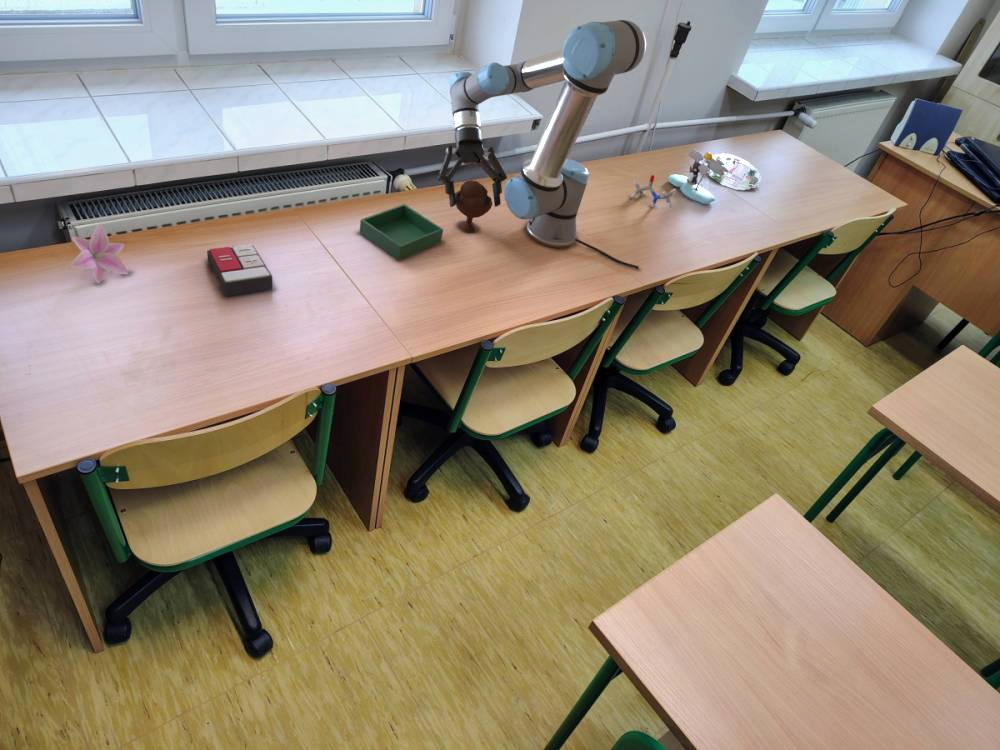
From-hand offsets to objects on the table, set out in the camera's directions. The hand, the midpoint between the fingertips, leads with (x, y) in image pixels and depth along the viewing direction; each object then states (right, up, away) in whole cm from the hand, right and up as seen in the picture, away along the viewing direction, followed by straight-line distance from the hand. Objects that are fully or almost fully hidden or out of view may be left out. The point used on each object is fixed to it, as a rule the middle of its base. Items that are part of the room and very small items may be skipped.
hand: (475, 205), depth 200 cm
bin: (-21, -10, -5) cm, 23 cm away
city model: (+96, +30, +76) cm, 126 cm away
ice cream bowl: (-3, -5, +7) cm, 9 cm away
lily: (-83, -25, -40) cm, 96 cm away
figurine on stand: (+76, +18, +57) cm, 97 cm away
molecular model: (+58, +11, +43) cm, 73 cm away
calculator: (-55, -24, -31) cm, 68 cm away
